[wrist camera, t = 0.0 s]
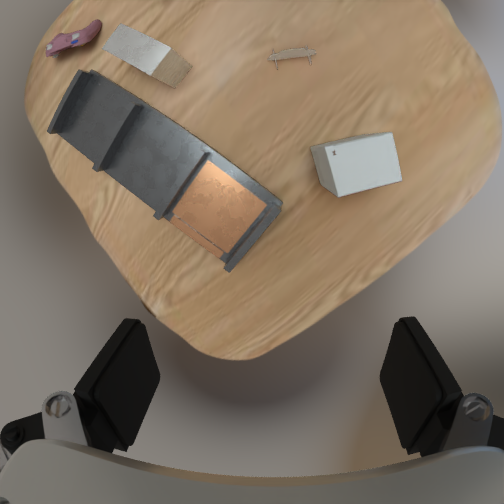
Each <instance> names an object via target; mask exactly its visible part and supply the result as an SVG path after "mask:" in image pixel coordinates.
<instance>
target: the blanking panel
mask: <svg viewBox="0 0 504 504" xmlns="http://www.w3.org/2000/svg"><path fill="white" fill-rule="evenodd" d="M102 49H103V50H105V51H107V52H109V53H111V54H113V55H115V56H116V57H118V58H120V59H122V60H124V61H126V62H127V63H129V64H131V65H133V66H134V67H136V68H138V69H140V70H141V71H143V72H145V73H146V74H148V75H150V76H152V77H154V78H156V79H158V80H160V81H162V82H164V83H166V84H168V85H170V86H171V87H173V88H176V87H177V86H178V84H179V83H180V82H181V81H182V79H183V78H184V77H185V75H186V74H187V73H188V72H189V70H190V69H191V68H192V66H191V65H190V64H189V63H188V62H187V61H186V60H185V59H184V58H182V57H181V56H180V55H179V54H178V53H177V52H176V51H174V50H173V49H172V48H171V47H169V46H167V45H165V44H163V43H161V42H159V41H157V40H155V39H153V38H151V37H149V36H147V35H145V34H143V33H141V32H139V31H137V30H135V29H132V28H130V27H128V26H126V25H123V24H121V23H120V25H119V26H118V27H117V29H116V30H115V31H114V32H113V34H112V35H111V37H110V38H109V39H108V41H107V42H106V43H105V45H104V46H103V48H102Z"/></svg>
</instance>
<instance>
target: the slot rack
mask: <svg viewBox="0 0 504 504" xmlns="http://www.w3.org/2000/svg"><path fill="white" fill-rule="evenodd" d="M47 132H48V133H50V134H55V133H57V134H59V135H60V136H61V137H62V138H64V139H65V140H66V141H67V142H68V143H70V144H71V145H72V146H73V147H75V148H76V149H77V150H78V151H80V152H81V153H82V154H83V155H85V156H86V157H87V158H88V159H90V160H91V161H92V162H93V163H95V164H94V166H93V168H92V169H94V170H95V171H96V172H99V171H103V170H104V171H105V172H106V173H107V174H109V175H110V176H111V177H112V178H114V179H115V180H116V181H118V182H119V183H120V184H121V185H123V186H124V187H125V188H127V189H128V190H129V191H130V192H132V193H133V194H134V195H136V196H137V197H138V198H139V199H141V200H142V201H143V202H145V203H146V204H147V205H149V206H150V207H151V208H153V209H154V210H155V211H156V212H155V214H154V215H153V216H154V217H155V218H156V219H158V220H160V219H161V218H163V217H164V218H166V219H167V220H168V221H170V222H171V223H172V224H173V225H175V226H176V227H177V228H179V229H180V230H181V231H183V232H184V233H185V234H187V235H188V236H189V237H191V238H192V239H193V240H195V241H196V242H197V243H199V244H200V245H201V246H203V247H204V248H205V249H207V250H208V251H210V252H211V253H212V254H214V255H215V256H216V257H218V258H219V259H221V260H222V261H223V262H225V266H224V268H223V269H225V270H226V271H228V272H229V273H230V271H231V270H232V269H233V268H234V267H235V265H236V264H237V263H238V262H239V261H240V259H241V258H242V257H243V256H244V255H245V254H246V252H247V251H248V250H249V249H250V248H251V246H252V245H253V244H254V243H255V242H256V240H257V239H258V238H259V237H260V236H261V234H262V233H263V232H264V231H265V230H266V228H267V227H268V226H269V225H270V224H271V222H272V221H273V220H274V219H275V218H276V217H277V215H278V214H279V213H280V212H281V205H282V204H283V202H282V201H281V200H280V199H279V198H277V197H276V196H275V195H274V194H272V193H271V192H270V191H268V190H267V189H266V188H265V187H263V186H262V185H261V184H259V183H258V182H257V181H256V180H254V179H253V178H252V177H250V176H249V175H248V174H246V173H245V172H244V171H242V170H241V169H240V168H238V167H237V166H236V165H234V164H233V163H232V162H230V161H229V160H228V159H226V158H225V157H224V156H222V155H221V154H220V153H218V152H217V151H215V150H214V149H213V148H211V147H210V146H209V145H207V144H206V143H204V142H203V141H202V140H200V139H199V138H197V137H196V136H195V135H193V134H192V133H190V132H189V131H187V130H186V129H185V128H183V127H182V126H180V125H179V124H177V123H176V122H174V121H173V120H171V119H170V118H168V117H167V116H165V115H164V114H163V113H161V112H160V111H158V110H157V109H155V108H154V107H152V106H150V105H149V104H147V103H146V102H144V101H143V100H141V99H140V98H138V97H137V96H135V95H133V94H132V93H130V92H129V91H127V90H126V89H124V88H122V87H121V86H119V85H118V84H116V83H114V82H113V81H111V80H109V79H108V78H106V77H104V76H103V75H101V74H99V73H98V72H96V71H94V70H90V72H87V71H83V70H80V69H79V70H78V71H77V73H76V75H75V76H74V78H73V80H72V82H71V83H70V85H69V87H68V89H67V91H66V92H65V94H64V96H63V98H62V100H61V102H60V104H59V106H58V108H57V110H56V112H55V114H54V116H53V119H52V121H51V123H50V125H49V127H48V130H47Z"/></svg>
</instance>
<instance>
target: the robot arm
mask: <svg viewBox="0 0 504 504" xmlns="http://www.w3.org/2000/svg"><path fill="white" fill-rule="evenodd" d="M159 381H160V372H159V369H158V366H157V363H156V360H155V357H154V355H153V351H152V347H151V344H150V341H149V337H148V334H147V331H146V327H145V325H144V324H142V323H141V321H140V320H138V319H128V318H126V319H124V320H123V321H122V323H121V324H120V325H119V327H118V328H117V329H116V331H115V332H114V333H113V335H112V336H111V337H110V339H109V340H108V341H107V343H106V344H105V346H104V347H103V348H102V350H101V351H100V352H99V354H98V355H97V357H96V358H95V360H94V361H93V362H92V364H91V365H90V367H89V368H88V369H87V371H86V372H85V374H84V375H83V377H82V378H81V380H80V381H79V382H78V384H77V385H76V387H75V388H74V390H75V392H74V394H73V395H72V394H71V393H69V392H66V391H59V392H55V393H53V394H51V395H50V396H48V397H47V398H46V399H45V400H44V402H43V405H42V412H40V413H37V414H34V415H31V416H28V417H25V418H22V419H18V420H15V421H12V422H10V423H8V424H7V425H5V426H4V428H3V429H2V431H1V434H0V504H504V418H500V417H498V416H495V415H493V412H494V410H493V406H492V403H491V402H490V400H489V399H488V398H487V397H485V396H484V395H482V394H479V393H469V394H467V395H465V396H464V395H463V394H462V392H461V391H462V390H461V388H460V387H459V385H458V383H457V381H456V380H455V378H454V376H453V375H452V373H451V371H450V370H449V368H448V366H447V365H446V363H445V362H444V360H443V358H442V357H441V355H440V353H439V352H438V350H437V349H436V347H435V346H434V344H433V343H432V341H431V339H430V338H429V337H428V335H427V333H426V332H425V330H424V329H423V327H422V326H421V325H420V323H419V322H418V320H417V319H416V318H415V317H403V318H400V319H399V321H398V322H396V323H395V324H394V328H393V332H392V335H391V340H390V343H389V346H388V350H387V354H386V357H385V360H384V363H383V366H382V369H381V372H380V382H381V385H382V388H383V391H384V394H385V396H386V399H387V402H388V405H389V408H390V411H391V414H392V417H393V420H394V423H395V427H396V430H397V433H398V436H399V439H400V442H401V445H402V447H403V448H404V449H405V448H406V450H407V453H408V455H410V454H413V453H417V452H420V455H421V458H417V459H413V460H409V461H405V462H401V463H397V464H392V465H387V466H382V467H377V468H372V469H367V470H360V471H354V472H347V473H339V474H330V475H318V476H304V477H244V476H229V475H218V474H209V473H200V472H194V471H187V470H180V469H175V468H170V467H165V466H160V465H155V464H151V463H146V462H142V461H138V460H134V459H130V458H126V457H123V456H119V455H115V454H112V452H113V450H114V448H115V449H118V450H121V451H125V452H127V449H128V447H129V446H131V445H133V443H134V441H135V439H136V436H137V434H138V431H139V429H140V426H141V424H142V422H143V419H144V417H145V414H146V412H147V410H148V407H149V405H150V403H151V400H152V398H153V396H154V393H155V391H156V388H157V386H158V384H159Z"/></svg>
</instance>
